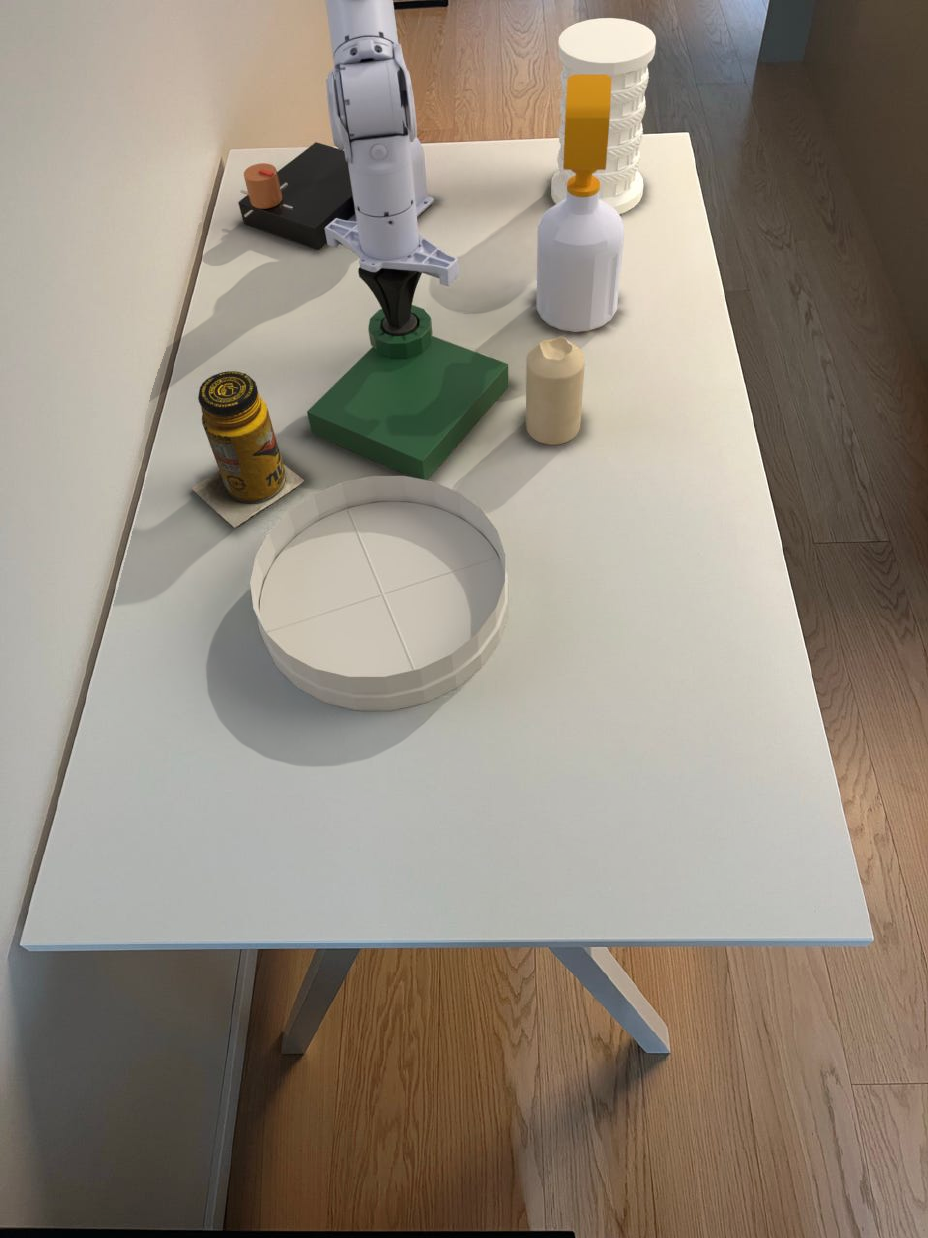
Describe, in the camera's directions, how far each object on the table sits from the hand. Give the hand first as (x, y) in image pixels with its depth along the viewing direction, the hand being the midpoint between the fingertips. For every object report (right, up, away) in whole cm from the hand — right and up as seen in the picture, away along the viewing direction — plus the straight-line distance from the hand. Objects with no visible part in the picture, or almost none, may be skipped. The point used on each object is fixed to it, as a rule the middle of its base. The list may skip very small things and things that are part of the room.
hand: (399, 322), depth 99 cm
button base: (+1, -9, 0) cm, 9 cm away
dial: (-18, +21, +19) cm, 33 cm away
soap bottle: (+19, +4, +8) cm, 21 cm away
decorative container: (+24, +23, +22) cm, 39 cm away
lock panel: (-13, +22, +22) cm, 34 cm away
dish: (0, -30, -15) cm, 33 cm away
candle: (+16, -12, -3) cm, 20 cm away
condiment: (-15, -18, -5) cm, 24 cm away
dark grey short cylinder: (0, -1, +2) cm, 2 cm away
